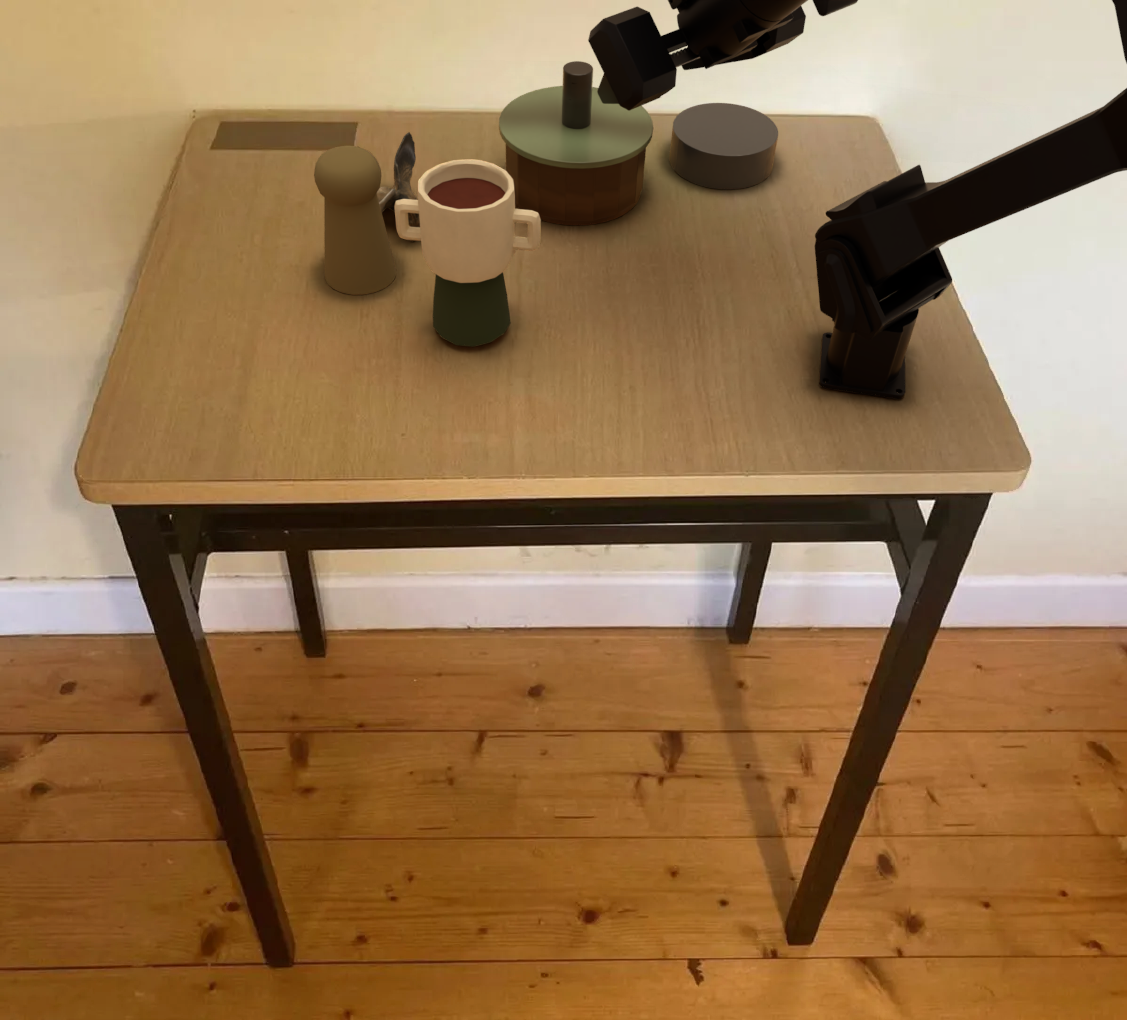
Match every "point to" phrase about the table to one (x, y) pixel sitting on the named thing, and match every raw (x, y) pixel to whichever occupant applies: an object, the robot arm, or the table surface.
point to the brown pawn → (353, 222)
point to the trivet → (723, 145)
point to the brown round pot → (576, 189)
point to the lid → (574, 124)
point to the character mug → (468, 245)
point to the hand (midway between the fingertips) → (642, 80)
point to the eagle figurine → (401, 180)
